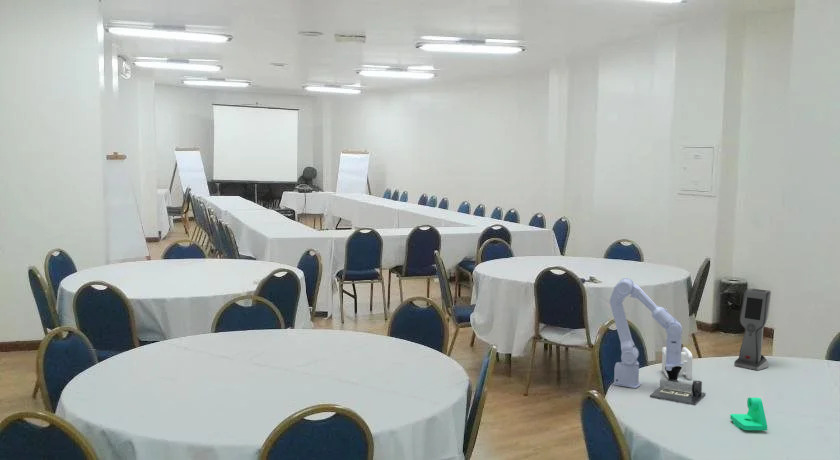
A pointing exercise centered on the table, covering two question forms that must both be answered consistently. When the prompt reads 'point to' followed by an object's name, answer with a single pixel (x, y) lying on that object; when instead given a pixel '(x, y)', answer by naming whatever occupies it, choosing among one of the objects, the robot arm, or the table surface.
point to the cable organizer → (685, 358)
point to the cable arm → (682, 386)
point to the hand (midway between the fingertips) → (672, 384)
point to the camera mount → (751, 416)
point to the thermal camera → (753, 328)
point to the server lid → (677, 397)
